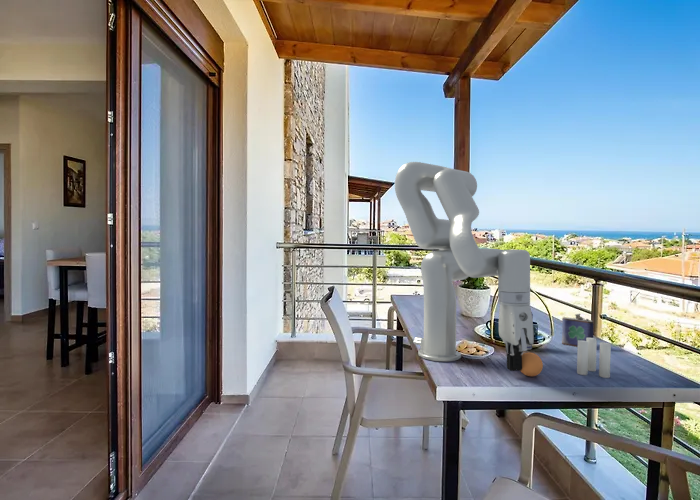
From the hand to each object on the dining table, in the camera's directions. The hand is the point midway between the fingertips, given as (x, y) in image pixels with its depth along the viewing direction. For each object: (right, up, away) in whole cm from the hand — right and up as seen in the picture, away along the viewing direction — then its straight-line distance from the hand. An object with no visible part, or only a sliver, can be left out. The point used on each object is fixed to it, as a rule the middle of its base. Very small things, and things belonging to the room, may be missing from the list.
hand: (514, 369), depth 103 cm
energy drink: (+14, -1, +27) cm, 30 cm away
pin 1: (+23, -2, +6) cm, 24 cm away
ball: (+4, +1, +1) cm, 5 cm away
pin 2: (+24, -2, +1) cm, 24 cm away
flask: (+33, -1, +30) cm, 44 cm away
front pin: (+19, -2, +3) cm, 19 cm away
